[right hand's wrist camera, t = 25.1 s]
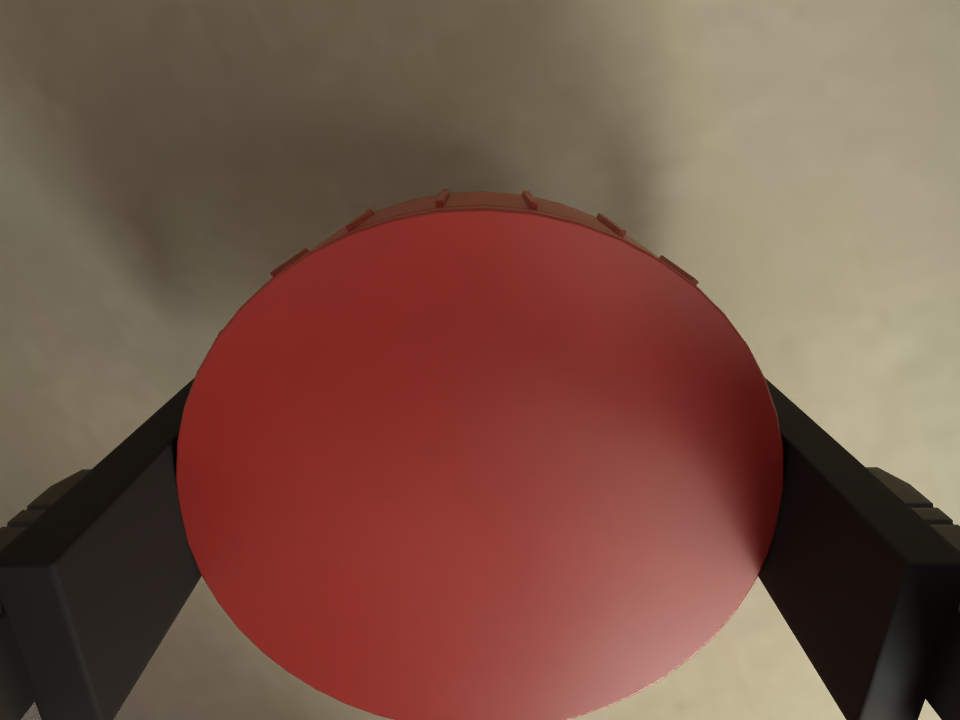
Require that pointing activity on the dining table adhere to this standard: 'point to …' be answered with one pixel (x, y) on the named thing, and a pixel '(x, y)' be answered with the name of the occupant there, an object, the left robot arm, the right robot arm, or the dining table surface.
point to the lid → (479, 463)
